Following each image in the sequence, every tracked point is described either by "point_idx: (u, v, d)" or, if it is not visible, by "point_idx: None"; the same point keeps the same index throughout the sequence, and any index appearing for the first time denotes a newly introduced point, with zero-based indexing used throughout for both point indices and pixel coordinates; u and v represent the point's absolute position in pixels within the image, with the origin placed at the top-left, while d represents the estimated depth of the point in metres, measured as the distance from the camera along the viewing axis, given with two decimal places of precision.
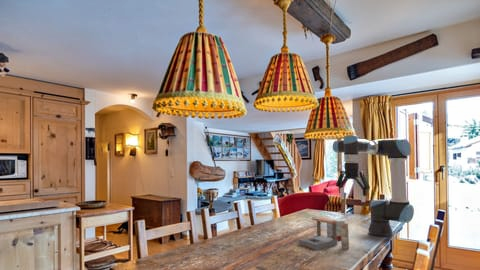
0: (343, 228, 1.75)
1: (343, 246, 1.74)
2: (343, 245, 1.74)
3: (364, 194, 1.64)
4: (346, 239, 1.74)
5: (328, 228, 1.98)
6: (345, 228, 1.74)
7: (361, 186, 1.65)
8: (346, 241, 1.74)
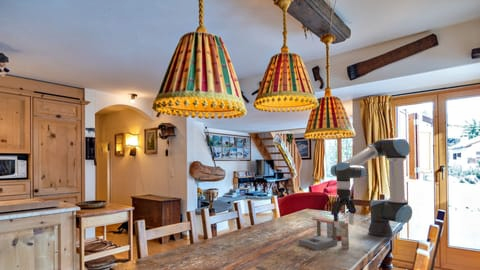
0: (343, 228, 1.75)
1: (343, 246, 1.74)
2: (343, 245, 1.74)
3: (334, 219, 1.73)
4: (346, 239, 1.74)
5: (328, 228, 1.98)
6: (345, 228, 1.74)
7: None
8: (346, 241, 1.74)
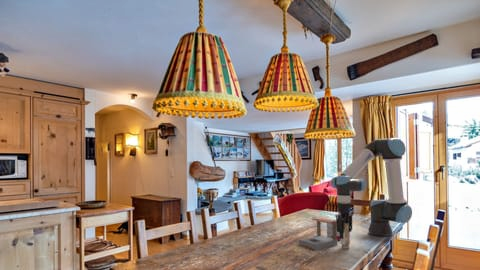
0: None
1: (343, 246, 1.74)
2: (343, 245, 1.74)
3: (340, 237, 1.75)
4: (346, 239, 1.74)
5: (328, 228, 1.98)
6: (345, 228, 1.75)
7: None
8: (346, 241, 1.74)
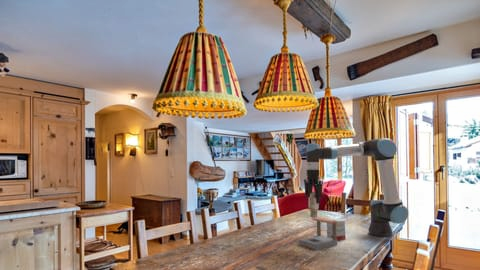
0: None
1: (316, 215, 1.81)
2: (316, 214, 1.81)
3: (317, 202, 1.80)
4: None
5: (328, 228, 1.98)
6: None
7: (315, 194, 1.80)
8: None
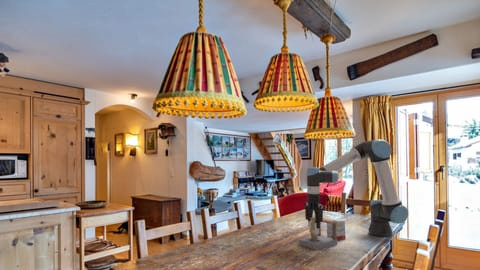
0: None
1: (317, 240, 1.80)
2: (317, 239, 1.80)
3: (317, 227, 1.79)
4: None
5: (328, 228, 1.98)
6: None
7: (316, 219, 1.79)
8: None
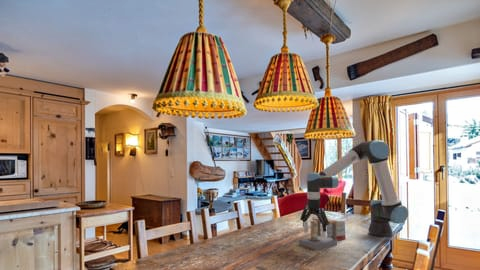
0: None
1: None
2: None
3: (324, 230, 1.75)
4: None
5: (328, 228, 1.98)
6: None
7: (321, 222, 1.76)
8: None
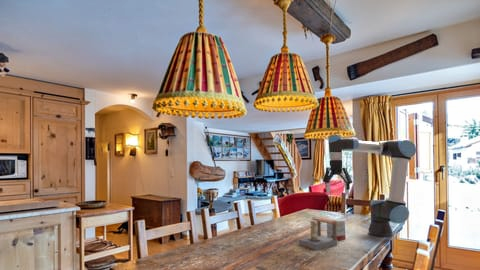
0: None
1: None
2: None
3: (347, 188, 1.80)
4: None
5: (328, 228, 1.98)
6: None
7: (345, 181, 1.81)
8: None
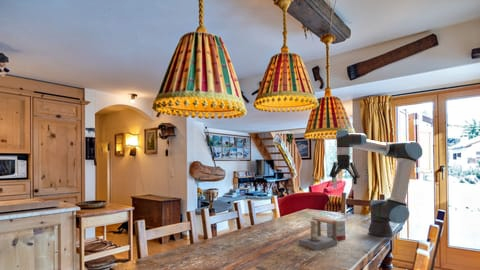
0: None
1: None
2: None
3: (354, 183, 1.82)
4: None
5: (328, 228, 1.98)
6: None
7: (352, 175, 1.83)
8: None
